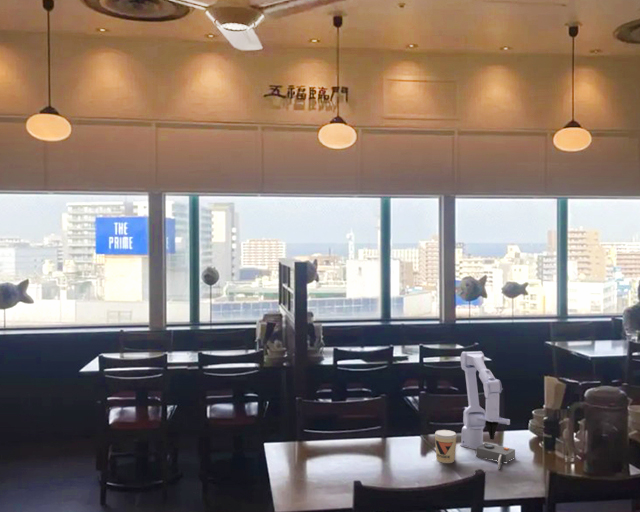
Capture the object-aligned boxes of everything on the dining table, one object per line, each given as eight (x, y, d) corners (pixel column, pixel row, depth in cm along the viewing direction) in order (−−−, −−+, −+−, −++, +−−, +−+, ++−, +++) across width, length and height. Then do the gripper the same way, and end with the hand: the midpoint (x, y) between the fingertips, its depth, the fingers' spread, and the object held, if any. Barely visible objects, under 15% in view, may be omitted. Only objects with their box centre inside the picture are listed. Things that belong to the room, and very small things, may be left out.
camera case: (476, 456, 281) (476, 446, 281) (485, 451, 288) (485, 441, 288) (505, 463, 272) (506, 453, 272) (515, 458, 279) (515, 448, 279)
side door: (500, 470, 264) (501, 461, 264) (497, 469, 264) (497, 460, 264) (503, 462, 273) (503, 454, 273) (499, 462, 273) (499, 453, 273)
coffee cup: (431, 461, 275) (432, 434, 274) (438, 455, 283) (438, 428, 283) (452, 465, 270) (453, 437, 270) (458, 458, 279) (459, 431, 278)
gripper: (473, 407, 274) (473, 439, 275) (507, 412, 268) (507, 443, 268) (477, 404, 280) (476, 434, 281) (510, 408, 274) (510, 439, 274)
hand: (492, 438), depth 275 cm, fingers closed
